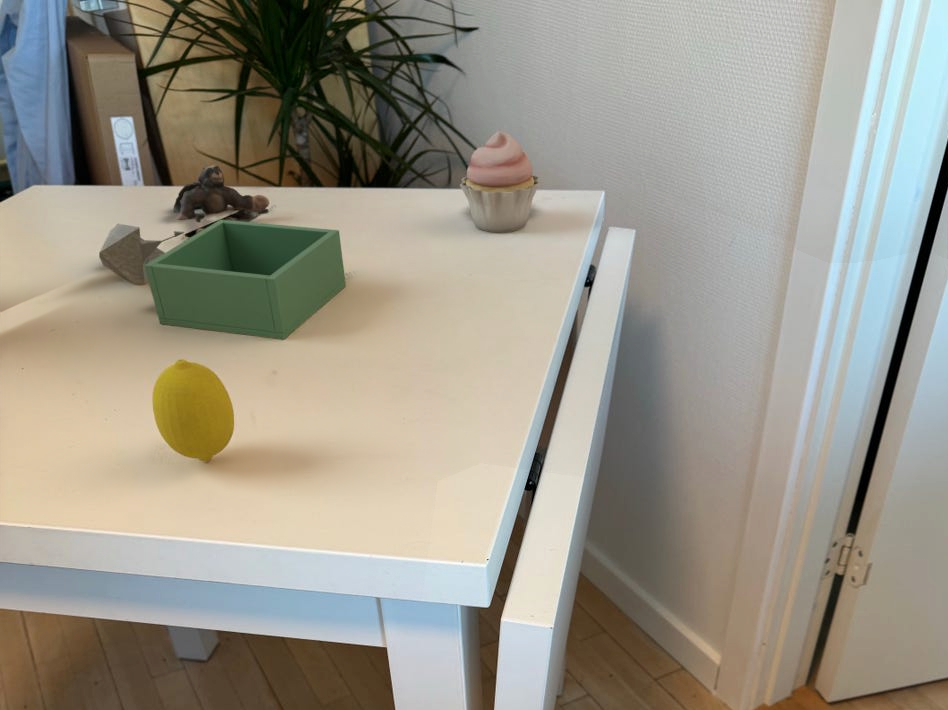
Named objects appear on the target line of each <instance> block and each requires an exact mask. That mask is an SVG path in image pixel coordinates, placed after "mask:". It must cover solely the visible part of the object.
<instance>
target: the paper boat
mask: <svg viewBox="0 0 948 710" xmlns="http://www.w3.org/2000/svg"><path fill="white" fill-rule="evenodd" d="M173 234H174V235H172V236H170V237H167V238H165V239H163V240H154V239H153V240H150V239H149V240H147V239H146V240H145V239H143V238H142V237H141V230H140V227H139V226H135V225H128V224H123V223H117V224H115V226H113V227H112V228H111V229H110V230H109V232H108V234H107V236H106V238H105V240H104V242H103V245H102V246H101V249H100V251H99V253H98V256H99V259H100V262H101V264H102V265H103V267H105V268H107V269H109V270H110V271H111V272H113V273H115V274H117V275H118V276H120V277H121V278H123V279H125V280H126V281H128V282H129V283H131V284H132V285H135V286H136V285H145V284H146V283H149V281H148V277H147V273H146V270H145V265H146V264H148V263H149V262H151V261H153V260H154V259H156V258H158V257H159V256H161V255H163V254H164V253H165V252H164V251H163V250H161V249H159V248H158V247H159V246H160V245H161V244H162V243H164V242H166V241H168V240H170V239H173V238H177V237H179V236H181V235H184V234H185V232H184V231H177V230H176V231H175V230H173Z"/></svg>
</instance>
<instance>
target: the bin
mask: <svg viewBox="0 0 948 710" xmlns="http://www.w3.org/2000/svg"><path fill="white" fill-rule="evenodd" d="M218 220H219V219H218ZM216 221H217V220H216ZM342 251H343V250H342V242H341V236H340V230H339V229H329V228H317V227H306V226H296V225H285V224H273V223H263V222H251V221H246V222H242V221H230V220H219V221H217V222H216V223H214V224H212V225H211V226H209V227H207V228H206V229H204V230H202V231H201V232H199V233H197V234H196V235H194V236H192V237H191V238H187V239H186V240H184V241H183V242H181V243H179V244H178V245H176V246H174V247H172V248H171V249H169V250H167V251H165V252H164V254H163V255H161V256H159V257H158V258H156V259H154V260H153V261H151V262H149V263H148V264H146V265H145V270H146V273H147V277H148V285H149V288H150V291H151V292H150V293H151V295H152V299H153V303H154V306H155V310H156V315H157V317H158V321H159V324H160V325H167V326H173V327H174V326H175V327H184V328H190V329H199V330H209V331H214V332H215V331H216V332H221V333H222V332H224V333H230V334H239V335H247V336H254V337H262V338H270V339H276V340H277V339H278V340H286V338H289V336H290V335H291V334H292V333H294V332H295V331H296V330H297V329H298V328H299V327H301V326H302V325H303V324H304V323H305V322H307V320H308V319H310V318H311V317H312V316H313V315H314V314H315V313H317V312H318V311H319V310H320V309H322V307H324V306H325V305H326V304H327V303H328V302H330V301H331V300H332V299H333V298H334V297H335V296H337V295H338V294H339V293H340V292H341V291H343V289H345V288H346V286H347V283H346V275H345V267H344V260H343V252H342Z"/></svg>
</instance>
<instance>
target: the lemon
mask: <svg viewBox="0 0 948 710" xmlns="http://www.w3.org/2000/svg"><path fill="white" fill-rule="evenodd" d="M152 411H153V416H154V417H153V418H154V421H155V424H156V427H157V430H158V431H159V433H160V436H161V437H162V439H163V440H164V441H165V443H166V444H167V445H168V446H169V447H170V449H172V450H173V451H174V452H176V453H177V454H179V455H181V456H183V457H186V458H189V459H195V460H199V461H201V462H203V463H208V462H210V461H211V460H212V458H213V457H214V456H216V455H218V454H219V453H221V452H222V451H223V450H224V449H225V448H226V447H227V446H228V444H229V443H230V442H231V439H232V437H233V434H234V430H235V413H234V407H233V402H232V399H231V397H230V395H229V393H228V390H227V388H226V387H225V385H224V383H223V381H222V380H221V378H220V377H219V376H218V374H216V373H215V371H213V370H212V369H210V368H209V367H208V366H205V365H203V364H201V363H197V362H193V361H187V360H186V359H183V358H181V359H177V360H175V362H174V363H173V364H171V365H170V366H168V367H166V368H165V369H164V370H163V371H162V372H161V373H160V374H159V376H158V377H157V379H156V380H155V383H154V386H153V390H152Z"/></svg>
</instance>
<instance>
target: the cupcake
mask: <svg viewBox="0 0 948 710" xmlns="http://www.w3.org/2000/svg"><path fill="white" fill-rule="evenodd" d="M539 180H540V176H538V175H533V165H532V162H531V159H530V158H529V156H528V155H527V154H526V153H525V152H524V151H523V149H522V147H521V145H520V143H518V141H517V140H516V139H514V137H512V136H511V135H510V134H508V133H506V132H504V131H501V130H498V131H496V132H495V133H494V134H493V135H492V136H491V137H490V138H489V139H488V140H487V141H486V143H485V144H484V145H483V146H480V147H477V149H475V150H474V152H473V153H472V155H471V158H470V162H469V165H468V167H467V170H466V176H465V177H463V178H461V181H462V182H461V183H460V184H459V187H460V188H461V190H462V192H463V194H464V197H466V199H467V202H468V206H469V210H470V214H471V218H472V222H473V225H474V226H475V228H477V229H479V230H481V231H484V232H490V233H510V232H514V231H517V230H521V229H523V228H524V227H525V226H527V223H528V221H529V217H530V212H531V209H532V208H531V207H532V203H533V199H534V197H535V196H536V195H535V194H536V193H537V190H538V188H539V186H540V184H541V183H540V182H539Z"/></svg>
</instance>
